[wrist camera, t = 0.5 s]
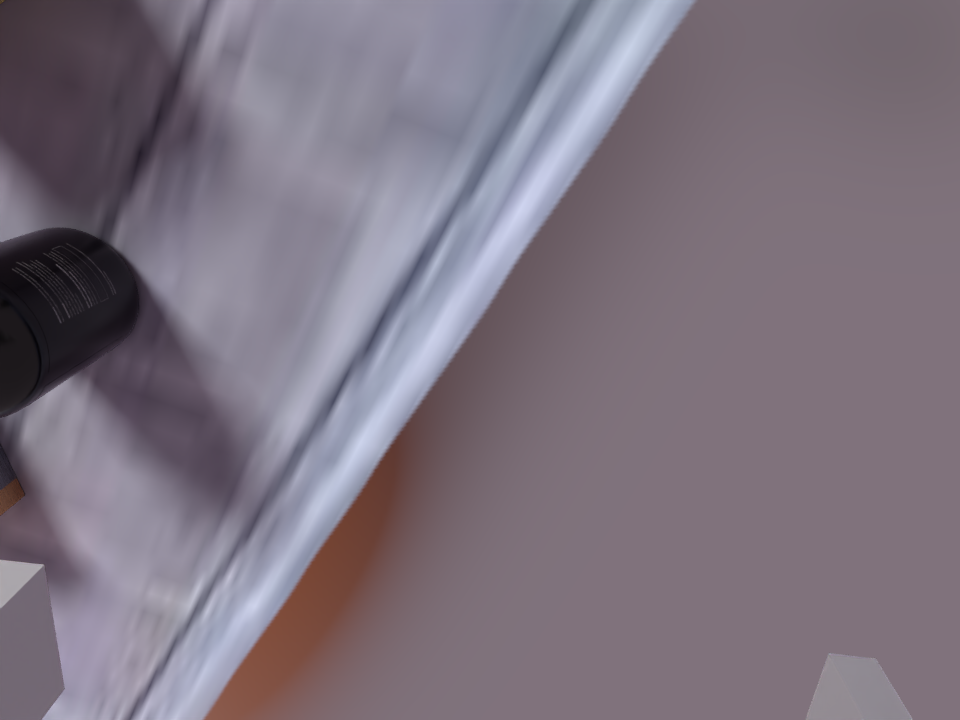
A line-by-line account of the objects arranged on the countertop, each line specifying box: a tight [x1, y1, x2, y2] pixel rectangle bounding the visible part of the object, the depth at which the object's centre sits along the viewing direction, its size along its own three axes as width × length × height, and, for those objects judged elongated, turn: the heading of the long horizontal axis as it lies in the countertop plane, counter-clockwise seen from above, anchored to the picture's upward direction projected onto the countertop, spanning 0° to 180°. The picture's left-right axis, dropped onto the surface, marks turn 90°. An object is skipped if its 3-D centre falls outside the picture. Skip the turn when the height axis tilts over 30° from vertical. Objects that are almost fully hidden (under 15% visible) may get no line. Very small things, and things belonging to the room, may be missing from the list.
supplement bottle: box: [0, 228, 139, 418], centre depth 31 cm, size 7×7×12 cm
